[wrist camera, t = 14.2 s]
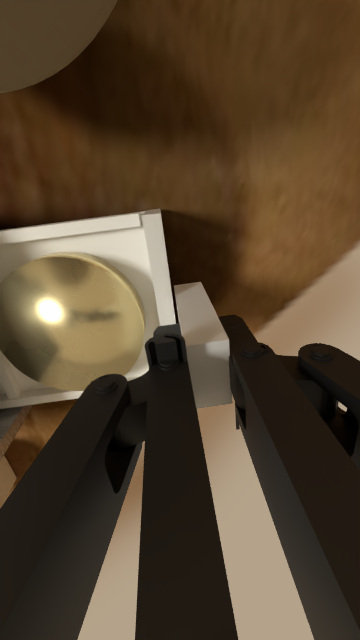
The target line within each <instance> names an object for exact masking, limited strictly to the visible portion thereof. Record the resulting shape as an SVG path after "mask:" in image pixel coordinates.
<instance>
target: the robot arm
mask: <svg viewBox="0 0 360 640" xmlns="http://www.w3.org/2000/svg"><path fill="white" fill-rule="evenodd" d="M174 291H175V298H176V306H177V313H178V320H179V323H178V324H171V325H164V326H158V327H157V328H156V330H155V331H154V332H153V337H152V338H150V339H149V340H148V341H147V342H146V343H145V351H146V356H147V361H148V366H149V370H148V371H147V372H146V373H145V374H143V375H142V376H140V377H138V378H135V379H133V380H130V381H127V379H126V377H124V376H123V375H121V374H107V375H104V376H101V377H98V378H97V379H95V380H93V381H92V382H91V383H90V384H89V385H88V386H87V387H86V389H85V390H84V391H83V393H82V394H81V396H80V397H79V398H78V400H77V401H76V403H75V404H74V405H73V407H72V408H71V410H70V411H69V413H68V414H67V415H66V417H65V418H64V420H63V421H62V422H61V424H60V425H59V427H58V428H57V429H56V431H55V432H54V434H53V435H52V436H51V438H50V439H49V441H48V442H47V444H46V445H45V446H44V448H43V449H42V451H41V452H40V453H39V455H38V456H37V458H36V459H35V460H34V462H33V463H32V465H31V466H30V467H29V469H28V470H27V472H26V473H25V475H24V476H23V477H22V479H21V480H20V482H19V483H18V484H17V486H16V487H15V489H14V490H13V491H12V493H11V494H10V496H9V497H8V499H7V500H6V501H5V503H4V504H3V506H2V507H1V508H0V640H77V639H78V636H79V633H80V630H81V627H82V624H83V621H84V618H85V615H86V612H87V609H88V605H89V603H90V600H91V597H92V594H93V591H94V588H95V585H96V582H97V579H98V576H99V573H100V570H101V567H102V564H103V561H104V558H105V555H106V553H107V550H108V546H109V543H110V541H111V538H112V534H113V532H114V529H115V526H116V523H117V520H118V517H119V514H120V511H121V508H122V505H123V502H124V499H125V496H126V493H127V490H128V487H129V484H130V481H131V478H132V475H133V472H134V469H135V466H136V463H137V460H138V457H139V454H140V451H141V449H142V442H143V441H145V452H144V454H145V455H144V472H143V493H142V512H141V532H140V553H139V572H138V591H137V611H136V632H135V640H238V636H237V630H236V625H235V619H234V614H233V608H232V603H231V597H230V592H229V587H228V580H227V575H226V569H225V564H224V559H223V553H222V548H221V542H220V537H219V531H218V525H217V520H216V515H215V509H214V503H213V498H212V492H211V487H210V481H209V476H208V470H207V465H206V459H205V454H204V448H203V443H202V437H201V432H200V426H199V421H198V415H197V408H204V407H210V406H217V405H224V404H230V403H232V394H233V397H234V400H235V412H236V429H239V424H240V427H241V430H242V433H243V436H244V439H245V442H246V444H247V447H248V450H249V453H250V456H251V459H252V462H253V465H254V467H255V470H256V473H257V476H258V479H259V482H260V485H261V488H262V490H263V493H264V496H265V499H266V502H267V505H268V507H269V511H270V513H271V516H272V519H273V522H274V525H275V528H276V530H277V533H278V536H279V539H280V542H281V545H282V548H283V551H284V553H285V556H286V559H287V562H288V565H289V568H290V571H291V574H292V577H293V579H294V582H295V585H296V588H297V591H298V594H299V597H300V600H301V602H302V605H303V608H304V611H305V614H306V617H307V620H308V622H309V625H310V628H311V631H312V634H313V637H314V640H360V361H359V360H357V359H355V358H354V357H352V356H350V355H348V354H347V353H345V352H343V351H341V350H340V349H338V348H335V347H333V346H330V345H326V344H321V343H319V344H318V343H314V344H308V345H305V346H303V347H301V348H300V350H299V352H298V356H282V355H276V354H275V353H274V352H273V350H272V349H271V348H270V347H269V346H268V345H265V344H263V343H258V342H257V340H256V339H255V337H254V336H253V334H252V333H251V331H250V330H249V328H248V327H247V325H246V324H245V322H244V321H243V319H242V318H240V317H238V316H236V315H228V316H221V317H218V316H217V314H216V312H215V310H214V308H213V306H212V304H211V302H210V299H209V297H208V295H207V293H206V291H205V289H204V287H203V285H202V283H201V282H195V283H188V284H181V285H174ZM338 402H340V403H342V404H343V405H344V406H346V407H347V411H346V412H345V411H343V410H341V409H340V408H339V407H338Z"/></svg>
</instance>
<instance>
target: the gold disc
mask: <svg viewBox="0 0 360 640" xmlns="http://www.w3.org/2000/svg"><path fill="white" fill-rule="evenodd" d="M145 325H146V319H145V311H144V307H143V303H142V300H141V298H140V296H139V294H138V292H137V290H136V289H135V287H134V286H133V284H132V283H131V282H130V281H129V280H128V278H127V277H126V276H125V275H124V274H122V273H121V272H120V271H119V270H118V269H116V268H115V267H114V266H112V265H111V264H109V263H107V262H105V261H104V260H101V259H99V258H97V257H94V256H91V255H87V254H84V253H77V252H55V253H50V254H46V255H43V256H40V257H38V258H35V259H34V260H32V261H30V262H28V263H26V264H24V265H23V266H21V267H19V268H17V269H16V270H14V271H13V272H11V273H10V274H9V275H8V276H7V277H5V279H4V280H3V281H2V282H1V283H0V350H1V352H2V353H3V354H4V356H5V357H6V358H7V359H8V360H9V361H10V362H11V363H12V365H13V366H14V367H16V368H17V369H18V370H19V371H21V372H22V373H23V374H25V375H26V376H28V377H29V378H31V379H33V380H35V381H37V382H39V383H41V384H44V385H46V386H49V387H53V388H56V389H61V390H68V391H84V390H85V389H86V387H87V386H88V385H89V384H90V383H91V382H92V381H93V380H95V379H97V378H98V377H101V376H104V375H107V374H121V375H123V376H124V375H126V374H127V373H128V372H129V371H130V370H131V368H132V367H133V366H134V364H135V363H136V361H137V360H138V358H139V355H140V353H141V350H142V346H143V340H144V333H145Z"/></svg>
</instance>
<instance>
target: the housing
mask: <svg viewBox="0 0 360 640" xmlns="http://www.w3.org/2000/svg"><path fill="white" fill-rule="evenodd" d="M32 407H33V405H26V406H19V407H12V408H5V409H0V461H1V459H2V457H3V456H4V454H5V452H6V450H7V449H8V447H9V445H10V444H11V442H12V440H13V439H14V437H15V435H16V434H17V432H18V430H19V429H20V427H21V425H22V424H23V422H24V420H25V419H26V417H27V415H28V414H29V412H30V410H31V409H32Z"/></svg>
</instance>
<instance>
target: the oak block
mask: <svg viewBox="0 0 360 640" xmlns="http://www.w3.org/2000/svg"><path fill="white" fill-rule="evenodd" d="M16 479H17V477H16V476H15V474H14V472H13V470H12V468H11V467H10V465H9V463H8V461H7V459H6V458H5V456H3V457H2V459H1V461H0V508H1V507H2V506H3V504H4V502H5V500H6V498H7V496H8V494H9V492H10V490H11V488H12V486H13V484H14V482H15V480H16Z"/></svg>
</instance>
